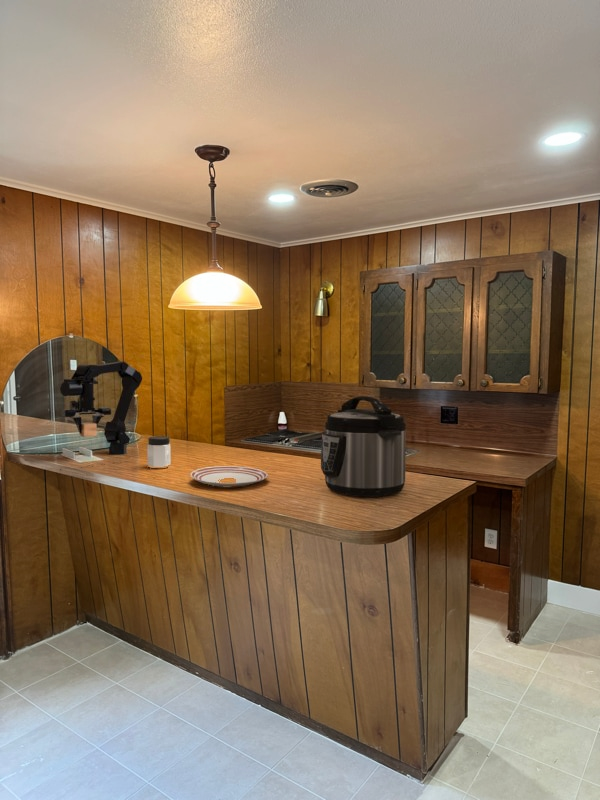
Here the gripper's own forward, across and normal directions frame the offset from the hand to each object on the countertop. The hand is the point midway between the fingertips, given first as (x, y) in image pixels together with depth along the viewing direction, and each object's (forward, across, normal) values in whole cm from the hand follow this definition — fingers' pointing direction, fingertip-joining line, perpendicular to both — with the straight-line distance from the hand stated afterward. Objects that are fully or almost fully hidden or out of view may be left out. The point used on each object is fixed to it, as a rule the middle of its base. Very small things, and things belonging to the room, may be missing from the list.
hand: (86, 432), depth 228 cm
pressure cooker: (+13, -55, +103) cm, 118 cm away
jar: (+13, -19, +26) cm, 35 cm away
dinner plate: (+13, -27, +65) cm, 72 cm away
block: (+1, 0, +2) cm, 2 cm away
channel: (+12, 0, -7) cm, 14 cm away
